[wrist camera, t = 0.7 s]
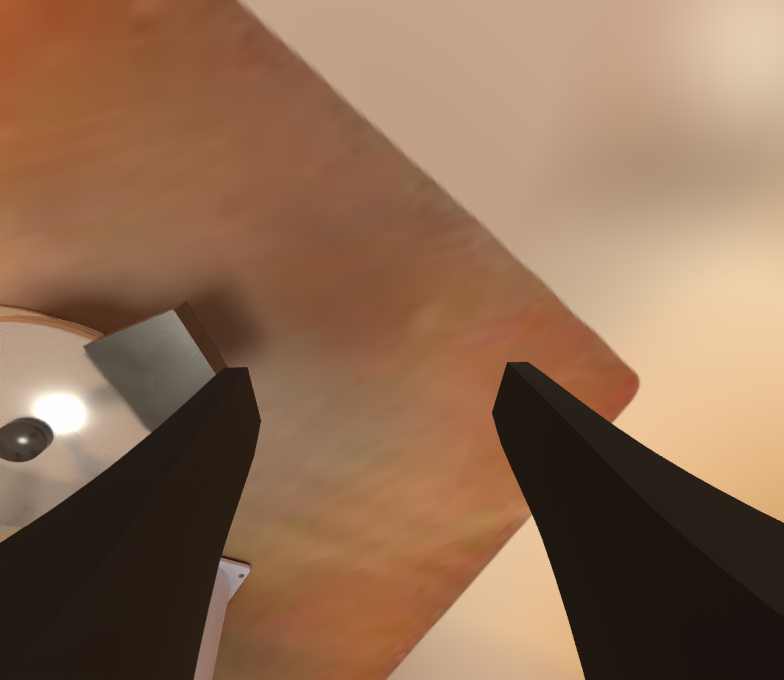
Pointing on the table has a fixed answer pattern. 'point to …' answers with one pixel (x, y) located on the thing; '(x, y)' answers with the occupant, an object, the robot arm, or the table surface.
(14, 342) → the cooker lid
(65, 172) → the table surface
